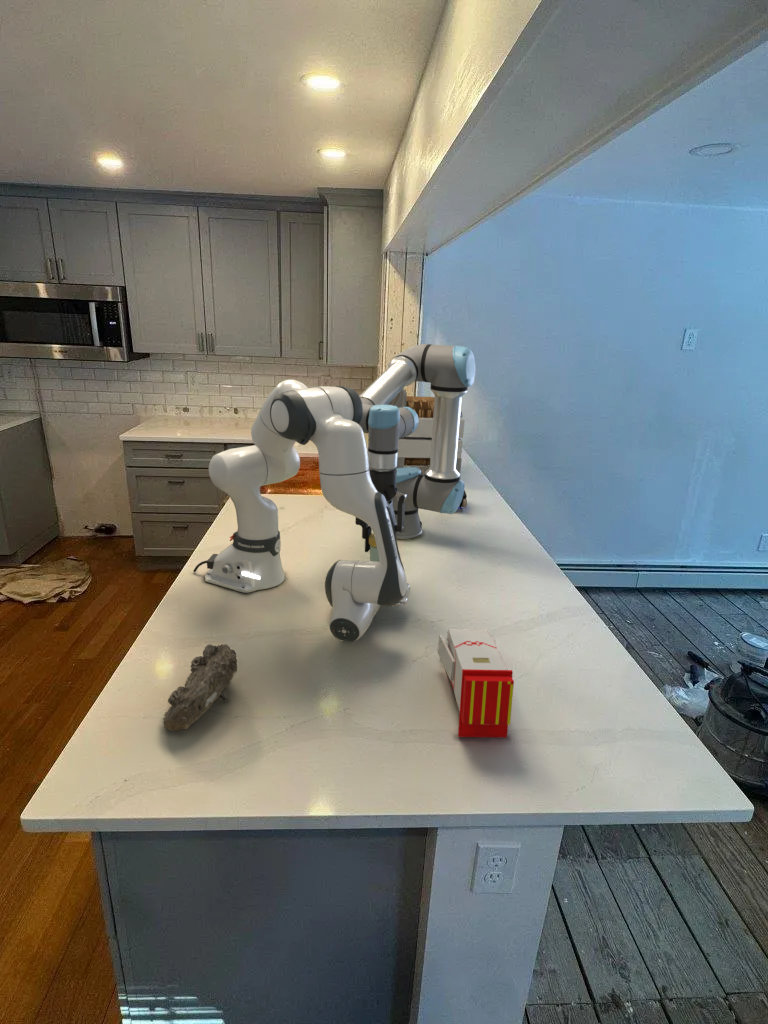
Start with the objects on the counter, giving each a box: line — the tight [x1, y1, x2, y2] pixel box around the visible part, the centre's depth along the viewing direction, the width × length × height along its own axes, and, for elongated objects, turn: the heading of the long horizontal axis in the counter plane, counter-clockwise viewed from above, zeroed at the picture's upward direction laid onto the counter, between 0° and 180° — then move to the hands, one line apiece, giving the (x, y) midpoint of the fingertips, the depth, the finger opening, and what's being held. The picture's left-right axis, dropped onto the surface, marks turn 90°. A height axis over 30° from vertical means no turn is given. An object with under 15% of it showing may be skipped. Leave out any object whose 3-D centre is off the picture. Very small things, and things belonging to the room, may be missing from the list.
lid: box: [369, 532, 377, 547], centre depth 150 cm, size 6×6×2 cm
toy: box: [437, 628, 515, 738], centre depth 117 cm, size 12×13×30 cm
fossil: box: [162, 643, 238, 732], centre depth 111 cm, size 22×10×15 cm
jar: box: [369, 545, 380, 562], centre depth 152 cm, size 5×5×17 cm
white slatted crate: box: [388, 388, 465, 480], centre depth 268 cm, size 34×33×41 cm
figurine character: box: [457, 489, 468, 512], centre depth 228 cm, size 7×8×15 cm
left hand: (378, 575), depth 154 cm, fingers closed on jar, 4 cm apart
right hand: (378, 551), depth 151 cm, fingers closed on lid, 5 cm apart
